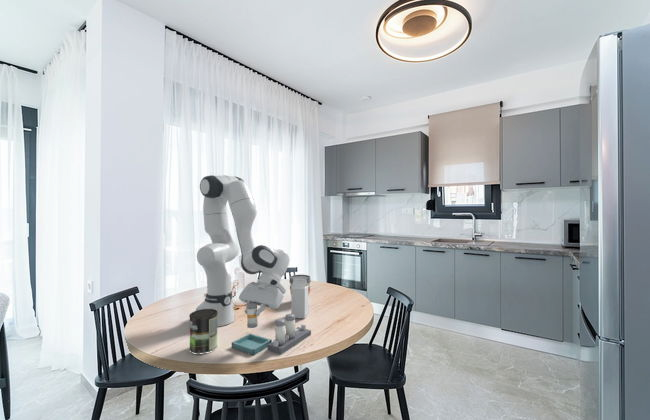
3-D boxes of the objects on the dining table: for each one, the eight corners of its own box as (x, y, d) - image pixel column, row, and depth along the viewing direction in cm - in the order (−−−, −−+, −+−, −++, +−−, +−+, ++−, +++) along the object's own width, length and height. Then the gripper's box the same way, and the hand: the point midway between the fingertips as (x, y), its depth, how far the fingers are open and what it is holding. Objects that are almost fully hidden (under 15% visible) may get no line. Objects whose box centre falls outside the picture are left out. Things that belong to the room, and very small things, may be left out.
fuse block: (267, 349, 114) (267, 339, 114) (298, 331, 131) (298, 322, 131) (281, 354, 110) (281, 343, 110) (310, 334, 127) (310, 325, 127)
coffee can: (195, 358, 108) (195, 320, 108) (185, 348, 115) (185, 313, 115) (222, 348, 115) (222, 313, 115) (211, 340, 122) (211, 306, 122)
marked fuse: (245, 326, 116) (244, 304, 116) (252, 323, 119) (252, 301, 119) (252, 328, 114) (252, 305, 114) (259, 325, 117) (259, 302, 117)
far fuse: (273, 344, 114) (272, 321, 114) (279, 340, 118) (279, 317, 118) (281, 346, 112) (280, 323, 112) (287, 342, 116) (287, 319, 116)
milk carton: (304, 318, 146) (304, 281, 146) (291, 317, 147) (291, 280, 147) (308, 313, 153) (308, 277, 153) (295, 313, 154) (295, 277, 154)
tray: (231, 347, 116) (231, 342, 116) (250, 338, 124) (250, 333, 124) (253, 355, 109) (253, 349, 109) (271, 344, 118) (271, 339, 118)
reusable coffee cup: (302, 307, 164) (302, 280, 163) (285, 303, 170) (284, 277, 170) (314, 301, 174) (314, 276, 174) (298, 297, 181) (297, 273, 181)
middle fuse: (283, 337, 120) (283, 316, 120) (289, 334, 123) (289, 313, 123) (291, 340, 118) (291, 317, 118) (297, 336, 121) (297, 314, 121)
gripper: (246, 277, 128) (228, 306, 120) (282, 282, 117) (266, 314, 109) (253, 285, 132) (237, 313, 123) (289, 291, 121) (274, 322, 113)
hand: (251, 314), depth 116 cm, fingers closed on marked fuse, 4 cm apart
